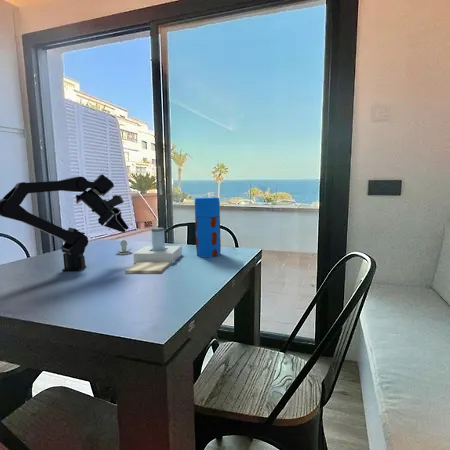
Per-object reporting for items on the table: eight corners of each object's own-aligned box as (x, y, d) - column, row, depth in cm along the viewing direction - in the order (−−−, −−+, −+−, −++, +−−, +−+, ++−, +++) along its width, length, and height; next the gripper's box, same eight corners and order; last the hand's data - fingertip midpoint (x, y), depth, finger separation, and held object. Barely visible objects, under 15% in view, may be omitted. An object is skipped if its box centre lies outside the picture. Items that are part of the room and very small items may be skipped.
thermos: (193, 253, 147) (191, 198, 144) (214, 251, 152) (213, 197, 148) (201, 258, 137) (199, 198, 134) (224, 255, 142) (223, 197, 139)
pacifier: (132, 254, 149) (132, 251, 155) (131, 241, 148) (131, 238, 154) (115, 256, 147) (116, 253, 153) (114, 242, 147) (115, 239, 152)
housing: (133, 263, 131) (133, 253, 131) (147, 254, 147) (146, 245, 147) (172, 263, 130) (172, 253, 129) (182, 254, 146) (181, 245, 145)
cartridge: (151, 260, 136) (149, 229, 135) (155, 257, 141) (153, 227, 140) (163, 260, 136) (161, 229, 134) (166, 257, 141) (165, 227, 139)
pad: (125, 273, 117) (125, 270, 117) (138, 264, 130) (138, 261, 130) (161, 273, 116) (160, 270, 116) (170, 264, 128) (170, 261, 128)
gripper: (105, 188, 119) (138, 217, 122) (114, 188, 137) (142, 213, 140) (84, 210, 118) (117, 239, 121) (95, 207, 137) (124, 232, 140)
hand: (126, 230), depth 131 cm, fingers open, 9 cm apart
